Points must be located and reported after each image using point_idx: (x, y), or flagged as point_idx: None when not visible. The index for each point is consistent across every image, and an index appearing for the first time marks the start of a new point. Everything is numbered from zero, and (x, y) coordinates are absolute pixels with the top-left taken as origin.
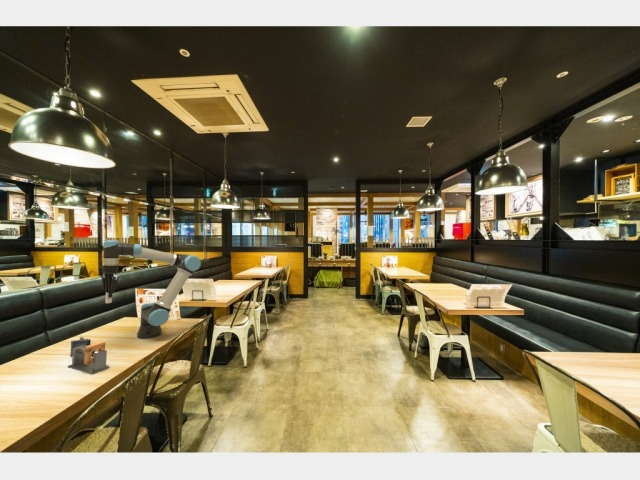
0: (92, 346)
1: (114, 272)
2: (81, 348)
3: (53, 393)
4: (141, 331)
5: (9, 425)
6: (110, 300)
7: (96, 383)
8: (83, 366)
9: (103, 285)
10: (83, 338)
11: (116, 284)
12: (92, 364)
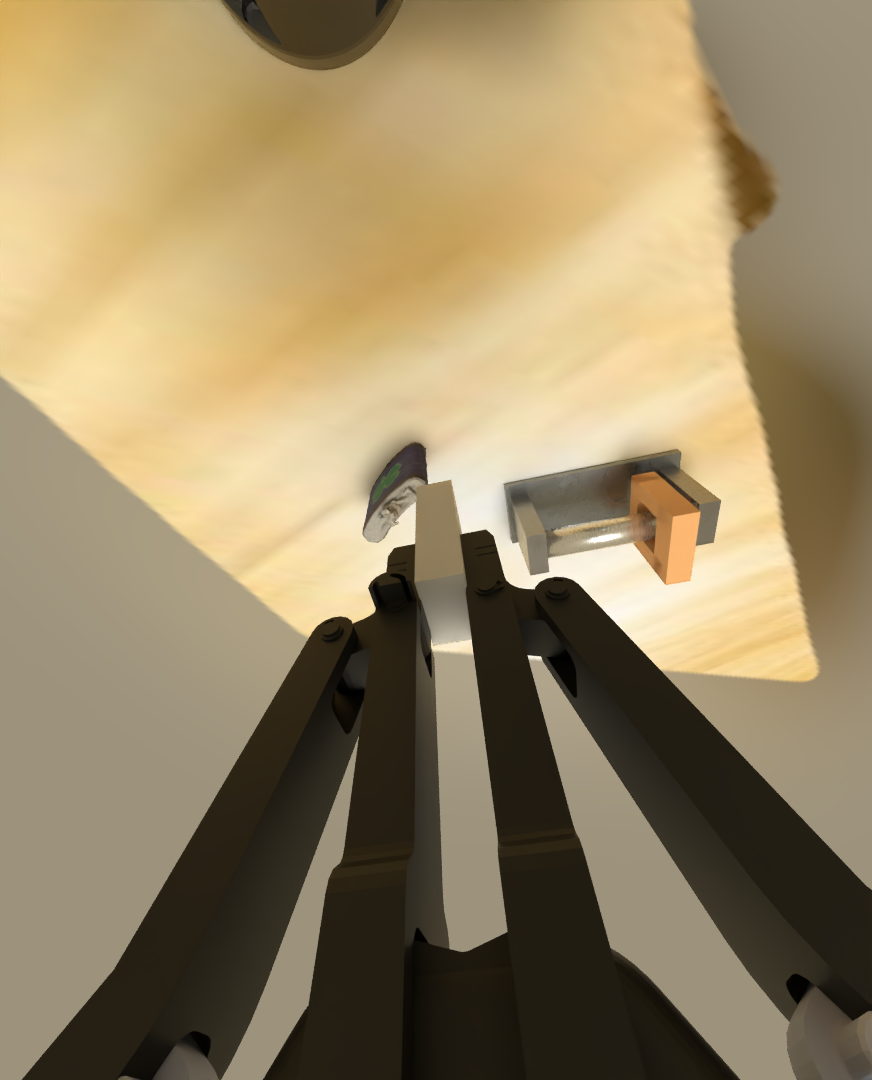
0: (691, 563)
1: None
2: (563, 553)
3: (686, 605)
4: (335, 18)
5: (745, 673)
6: (456, 511)
7: (757, 524)
8: (576, 513)
9: (329, 784)
10: (395, 505)
11: (694, 710)
12: (589, 487)
